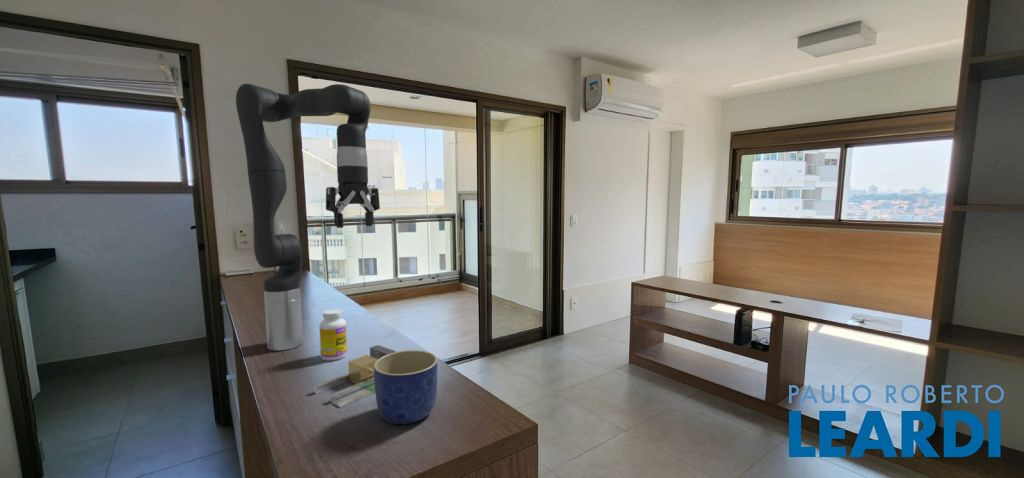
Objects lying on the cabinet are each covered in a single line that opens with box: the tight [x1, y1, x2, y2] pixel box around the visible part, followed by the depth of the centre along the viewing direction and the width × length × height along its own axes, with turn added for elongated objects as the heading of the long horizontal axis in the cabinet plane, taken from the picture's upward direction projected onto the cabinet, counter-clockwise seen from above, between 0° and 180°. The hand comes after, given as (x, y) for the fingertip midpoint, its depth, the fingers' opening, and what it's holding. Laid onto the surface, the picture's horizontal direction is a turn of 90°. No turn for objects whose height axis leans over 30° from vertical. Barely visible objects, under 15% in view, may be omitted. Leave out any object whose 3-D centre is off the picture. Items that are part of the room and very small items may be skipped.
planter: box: [374, 349, 438, 425], centre depth 81 cm, size 12×12×11 cm
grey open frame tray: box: [312, 344, 397, 408], centre depth 93 cm, size 11×17×6 cm, turn 143°
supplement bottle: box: [319, 308, 348, 362], centre depth 110 cm, size 7×7×13 cm
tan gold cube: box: [347, 354, 378, 385], centre depth 94 cm, size 8×5×5 cm, turn 54°
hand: (354, 226), depth 107 cm, fingers open, 8 cm apart
